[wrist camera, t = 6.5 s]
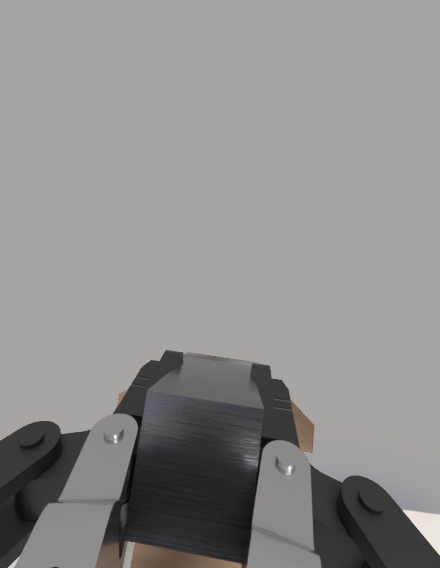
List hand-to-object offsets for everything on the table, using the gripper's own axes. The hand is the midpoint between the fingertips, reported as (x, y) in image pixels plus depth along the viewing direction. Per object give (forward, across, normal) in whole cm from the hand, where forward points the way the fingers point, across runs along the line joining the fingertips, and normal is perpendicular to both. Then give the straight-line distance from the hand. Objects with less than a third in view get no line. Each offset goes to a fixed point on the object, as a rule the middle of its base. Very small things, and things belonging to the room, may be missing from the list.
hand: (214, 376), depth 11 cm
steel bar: (+3, 0, +5) cm, 6 cm away
